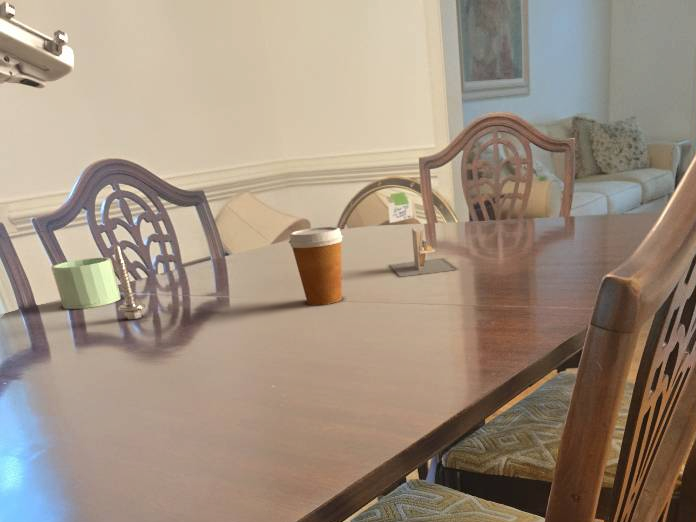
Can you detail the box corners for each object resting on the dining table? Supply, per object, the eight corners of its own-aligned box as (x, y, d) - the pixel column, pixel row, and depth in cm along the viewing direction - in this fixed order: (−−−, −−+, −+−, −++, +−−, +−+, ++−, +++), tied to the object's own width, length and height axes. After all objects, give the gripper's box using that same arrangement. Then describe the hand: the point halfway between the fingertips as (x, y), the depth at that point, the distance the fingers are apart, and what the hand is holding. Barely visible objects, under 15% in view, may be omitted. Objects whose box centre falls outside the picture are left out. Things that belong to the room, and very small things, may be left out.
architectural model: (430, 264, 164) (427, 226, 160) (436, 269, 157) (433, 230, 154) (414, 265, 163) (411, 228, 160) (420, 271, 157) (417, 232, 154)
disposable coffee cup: (287, 306, 138) (276, 235, 133) (319, 294, 145) (310, 226, 140) (329, 308, 134) (319, 234, 128) (360, 295, 141) (352, 225, 135)
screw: (142, 320, 140) (116, 322, 140) (151, 314, 144) (126, 316, 145) (123, 244, 134) (96, 247, 134) (133, 240, 138) (107, 243, 138)
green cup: (57, 311, 155) (45, 270, 152) (70, 300, 166) (58, 262, 162) (115, 304, 157) (104, 263, 153) (124, 294, 167) (114, 255, 163)
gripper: (-67, 3, 131) (-26, -31, 123) (48, 59, 147) (90, 32, 139) (-65, 41, 131) (-25, 10, 123) (49, 92, 148) (91, 68, 140)
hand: (37, 22), depth 131 cm, fingers open, 8 cm apart
